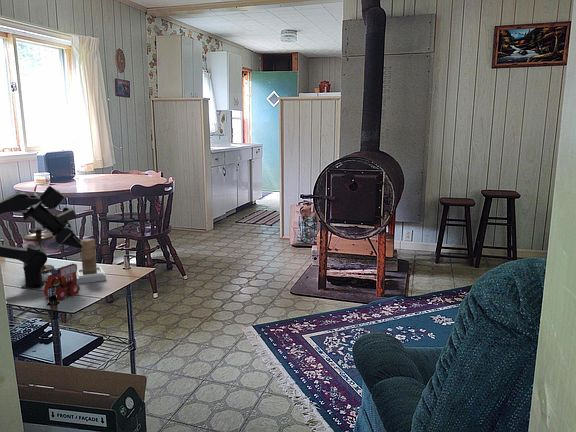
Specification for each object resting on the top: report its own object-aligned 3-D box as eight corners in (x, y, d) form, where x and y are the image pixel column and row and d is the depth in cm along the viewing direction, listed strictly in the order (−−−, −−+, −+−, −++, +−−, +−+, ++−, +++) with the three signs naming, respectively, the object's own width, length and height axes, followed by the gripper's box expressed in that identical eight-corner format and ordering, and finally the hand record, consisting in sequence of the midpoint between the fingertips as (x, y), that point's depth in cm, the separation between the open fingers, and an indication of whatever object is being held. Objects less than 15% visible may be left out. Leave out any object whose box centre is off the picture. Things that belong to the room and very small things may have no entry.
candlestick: (62, 266, 193) (55, 182, 186) (46, 275, 182) (39, 186, 175) (36, 265, 194) (29, 181, 187) (20, 273, 183) (12, 185, 176)
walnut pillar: (94, 275, 177) (92, 241, 175) (80, 275, 177) (78, 241, 174) (98, 271, 182) (96, 238, 180) (85, 271, 182) (83, 238, 179)
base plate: (77, 283, 173) (76, 276, 173) (75, 276, 182) (74, 269, 181) (105, 280, 178) (105, 273, 177) (102, 272, 186) (101, 266, 186)
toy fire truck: (39, 299, 157) (36, 270, 155) (70, 288, 168) (68, 261, 166) (52, 303, 154) (50, 273, 152) (84, 292, 165) (82, 264, 163)
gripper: (63, 205, 162) (99, 233, 170) (60, 198, 178) (93, 223, 186) (39, 229, 160) (77, 257, 167) (38, 219, 176) (72, 245, 183)
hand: (80, 244), depth 176 cm, fingers open, 9 cm apart
